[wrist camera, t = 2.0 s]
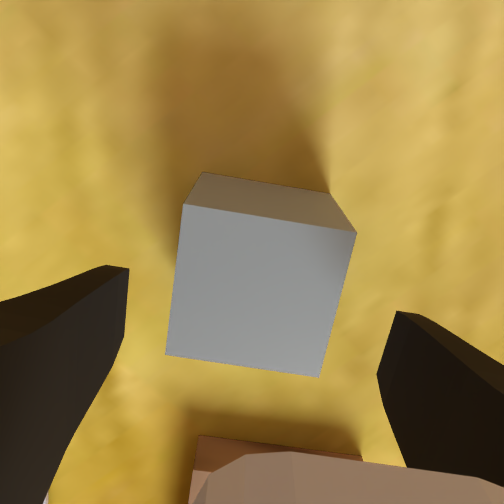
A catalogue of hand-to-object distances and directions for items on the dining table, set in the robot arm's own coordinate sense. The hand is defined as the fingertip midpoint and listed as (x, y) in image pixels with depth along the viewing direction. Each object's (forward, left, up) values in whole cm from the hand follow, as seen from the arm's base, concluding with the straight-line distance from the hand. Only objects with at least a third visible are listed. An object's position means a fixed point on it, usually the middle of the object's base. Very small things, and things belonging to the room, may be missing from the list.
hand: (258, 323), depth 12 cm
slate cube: (0, 0, -7) cm, 7 cm away
